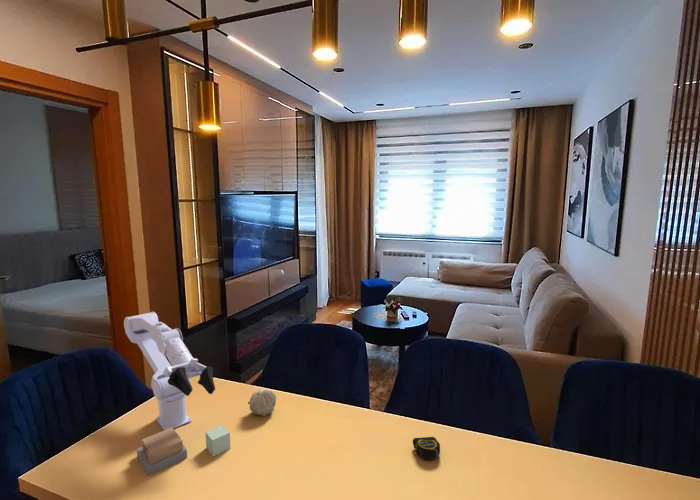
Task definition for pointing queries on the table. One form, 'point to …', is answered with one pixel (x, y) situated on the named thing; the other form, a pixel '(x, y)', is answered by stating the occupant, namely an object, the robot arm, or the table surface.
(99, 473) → the table surface
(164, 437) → the tower top
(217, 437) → the green cube
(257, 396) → the garlic bulb
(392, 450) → the table surface
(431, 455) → the tape measure
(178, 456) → the tower base
